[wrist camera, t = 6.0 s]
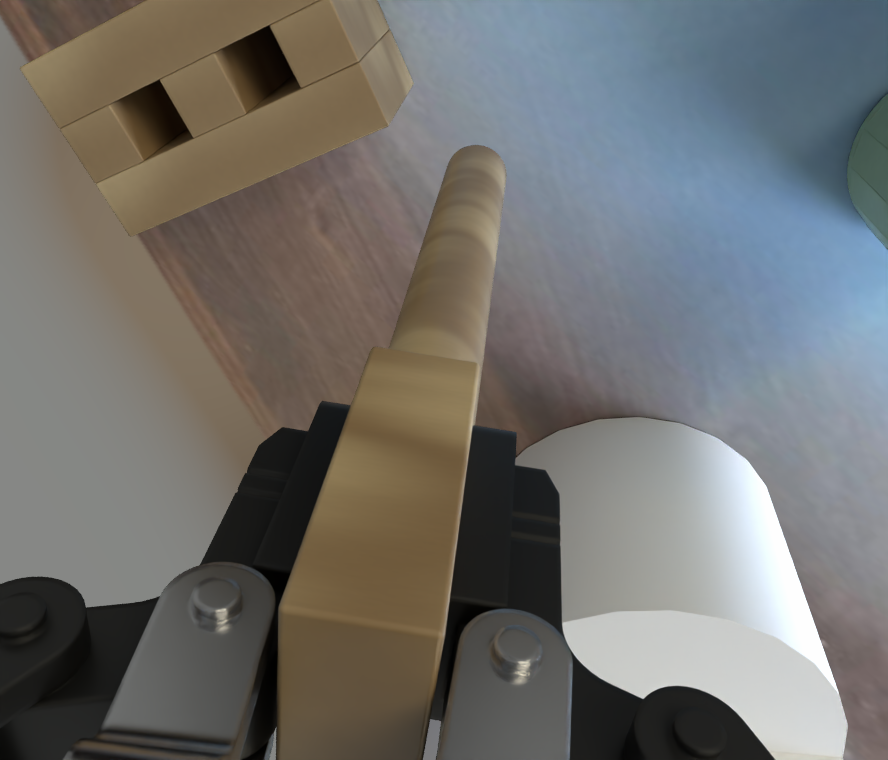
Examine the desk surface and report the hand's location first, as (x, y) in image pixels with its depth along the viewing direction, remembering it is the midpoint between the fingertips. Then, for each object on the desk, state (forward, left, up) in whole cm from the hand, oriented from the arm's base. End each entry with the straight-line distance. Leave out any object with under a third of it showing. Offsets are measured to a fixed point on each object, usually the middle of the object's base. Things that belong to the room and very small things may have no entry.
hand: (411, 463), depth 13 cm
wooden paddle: (0, 0, -14) cm, 14 cm away
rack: (+5, -10, -28) cm, 30 cm away
